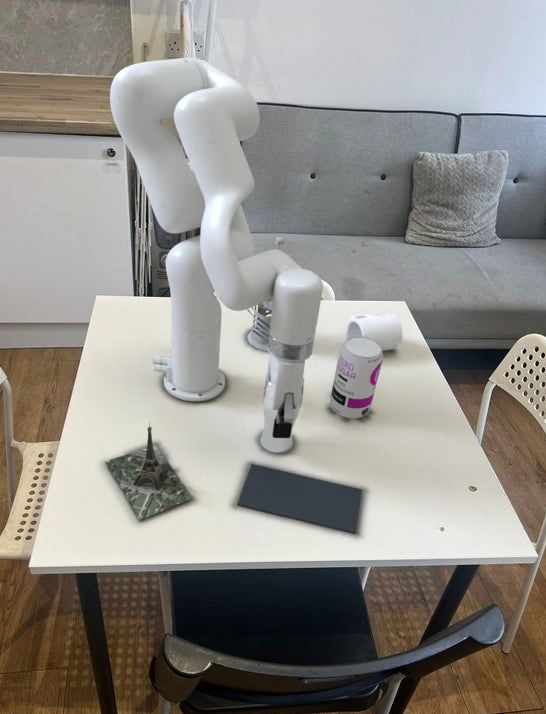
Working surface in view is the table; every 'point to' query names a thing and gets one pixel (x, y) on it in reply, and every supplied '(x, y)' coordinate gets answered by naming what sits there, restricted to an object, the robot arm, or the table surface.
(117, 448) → the table surface
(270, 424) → the beer glass
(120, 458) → the eiffel tower figurine
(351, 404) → the supplement can
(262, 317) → the french press
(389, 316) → the mug
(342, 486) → the mat
